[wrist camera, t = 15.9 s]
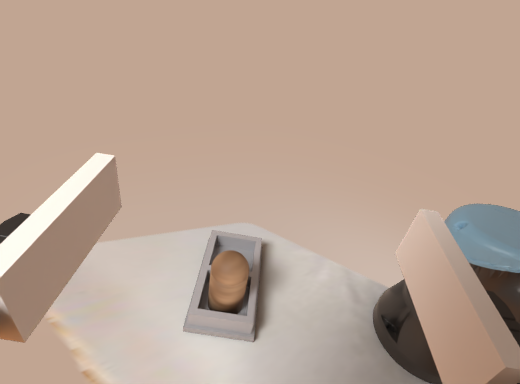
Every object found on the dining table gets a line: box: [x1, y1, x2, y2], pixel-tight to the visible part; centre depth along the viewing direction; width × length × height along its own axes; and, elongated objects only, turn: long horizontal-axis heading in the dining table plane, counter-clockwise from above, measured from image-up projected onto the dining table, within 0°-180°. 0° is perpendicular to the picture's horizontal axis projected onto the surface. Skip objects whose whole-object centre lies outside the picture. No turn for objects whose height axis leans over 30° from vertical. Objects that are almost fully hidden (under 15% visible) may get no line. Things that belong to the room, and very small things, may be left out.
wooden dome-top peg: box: [208, 250, 249, 314], centre depth 45 cm, size 5×5×10 cm
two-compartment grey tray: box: [183, 230, 262, 342], centre depth 50 cm, size 18×10×4 cm, turn 176°
